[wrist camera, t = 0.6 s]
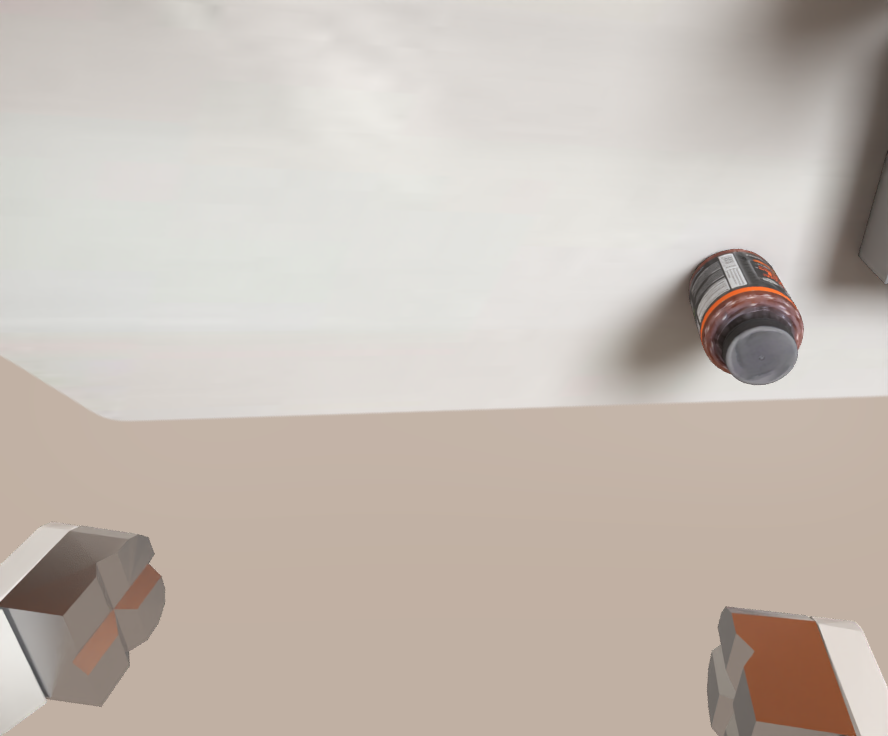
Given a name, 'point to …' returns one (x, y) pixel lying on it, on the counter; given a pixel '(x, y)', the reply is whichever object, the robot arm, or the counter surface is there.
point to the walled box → (878, 230)
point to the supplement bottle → (745, 317)
